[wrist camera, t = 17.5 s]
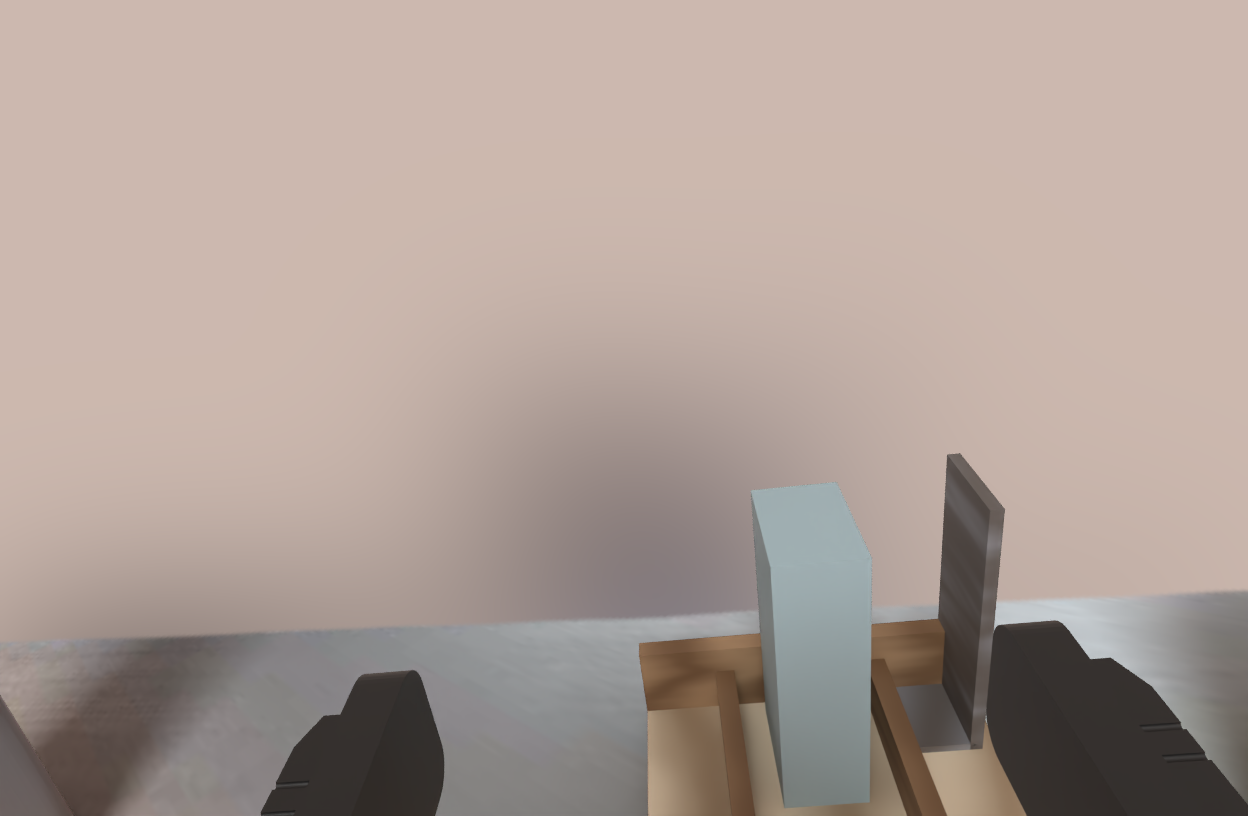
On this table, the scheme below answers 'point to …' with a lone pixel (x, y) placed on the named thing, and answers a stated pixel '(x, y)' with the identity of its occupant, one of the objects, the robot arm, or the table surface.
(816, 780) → the pale blue rectangular block
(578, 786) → the table surface
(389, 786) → the robot arm
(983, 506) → the wooden holder stand
